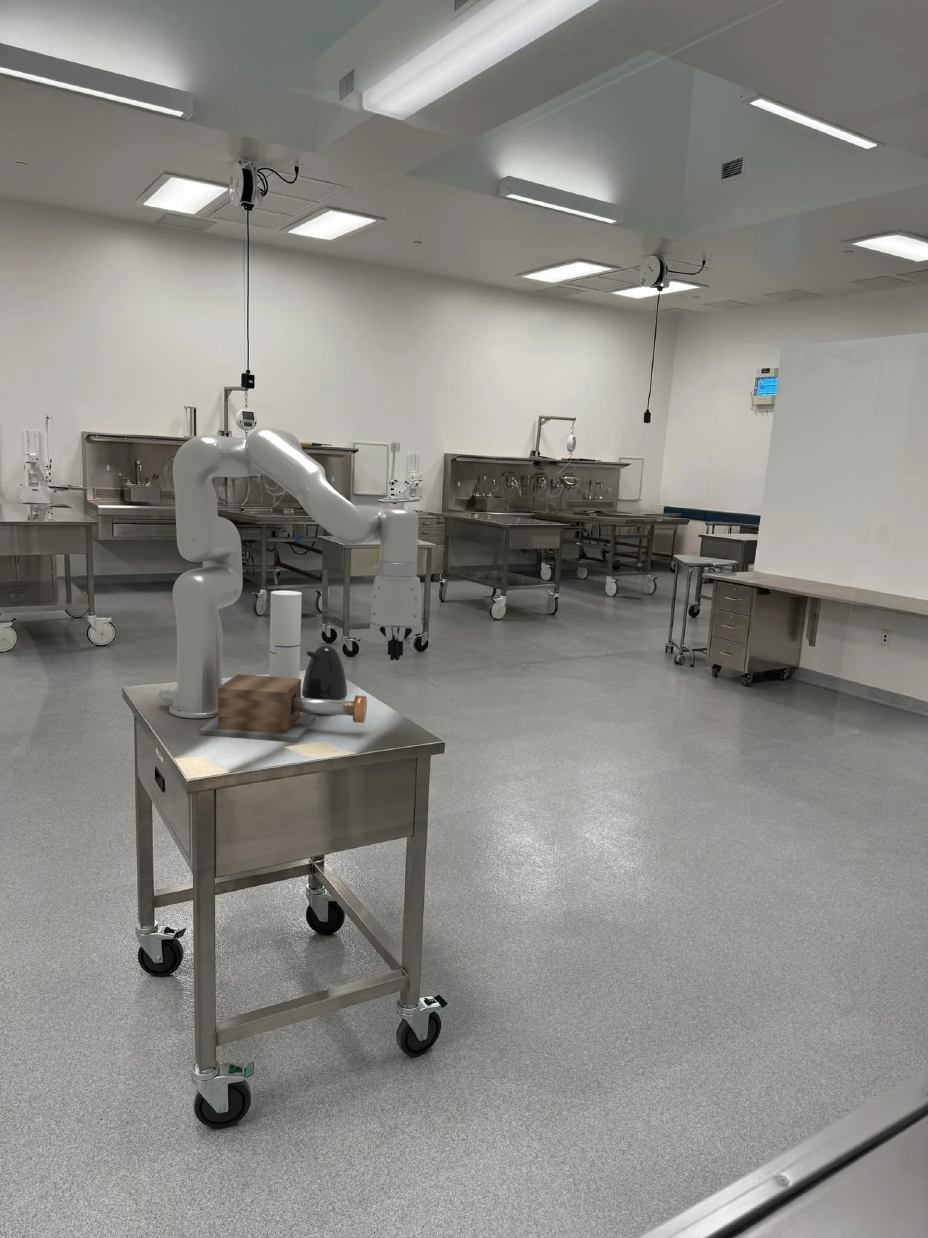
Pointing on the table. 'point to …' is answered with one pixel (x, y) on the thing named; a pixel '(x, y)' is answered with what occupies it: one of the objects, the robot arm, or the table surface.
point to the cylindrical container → (285, 634)
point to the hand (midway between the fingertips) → (395, 658)
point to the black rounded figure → (325, 675)
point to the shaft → (332, 707)
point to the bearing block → (259, 709)
